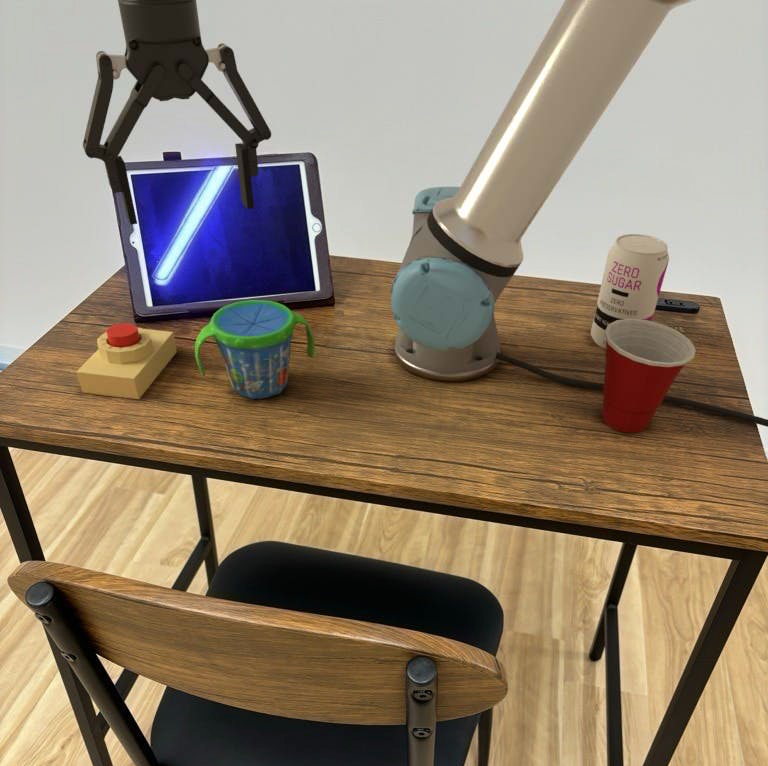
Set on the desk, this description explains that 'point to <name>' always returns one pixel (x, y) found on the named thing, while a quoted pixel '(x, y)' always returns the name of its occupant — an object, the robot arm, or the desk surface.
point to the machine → (127, 365)
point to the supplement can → (630, 282)
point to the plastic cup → (640, 370)
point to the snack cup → (255, 345)
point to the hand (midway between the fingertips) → (191, 212)
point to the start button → (123, 335)
